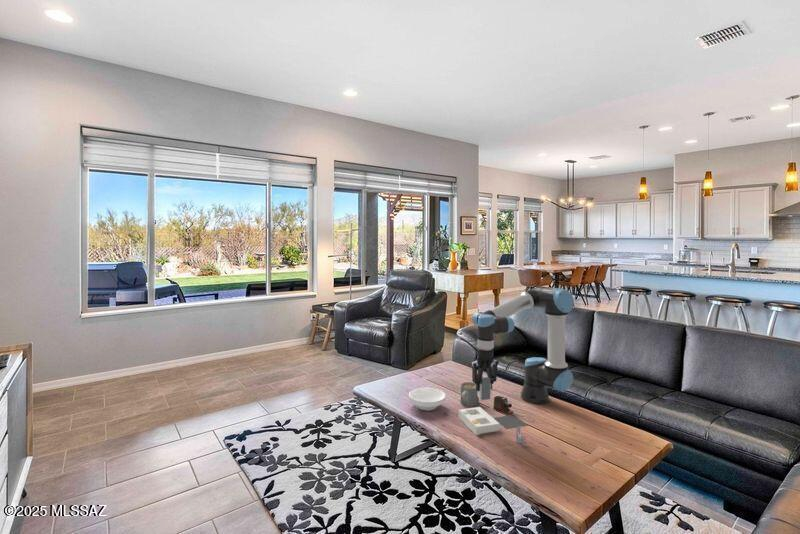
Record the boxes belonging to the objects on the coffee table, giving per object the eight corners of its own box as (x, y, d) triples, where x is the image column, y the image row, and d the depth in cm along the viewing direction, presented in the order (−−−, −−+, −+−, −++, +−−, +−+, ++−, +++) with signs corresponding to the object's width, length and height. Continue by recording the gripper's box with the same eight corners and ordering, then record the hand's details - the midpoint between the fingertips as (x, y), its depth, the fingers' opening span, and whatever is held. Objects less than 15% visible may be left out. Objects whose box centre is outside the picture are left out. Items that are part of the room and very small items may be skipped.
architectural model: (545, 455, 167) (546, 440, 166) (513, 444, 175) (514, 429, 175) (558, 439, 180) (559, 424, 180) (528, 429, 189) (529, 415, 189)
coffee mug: (468, 397, 225) (468, 380, 224) (482, 403, 217) (482, 385, 216) (452, 404, 216) (452, 386, 215) (467, 410, 208) (467, 391, 208)
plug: (485, 395, 189) (486, 374, 189) (489, 399, 186) (490, 377, 185) (478, 396, 188) (478, 374, 187) (482, 400, 184) (482, 377, 184)
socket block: (479, 414, 204) (479, 406, 203) (499, 431, 186) (499, 422, 185) (458, 417, 200) (458, 409, 200) (476, 435, 182) (476, 426, 182)
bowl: (447, 415, 202) (447, 402, 201) (408, 415, 202) (408, 401, 201) (443, 400, 221) (443, 387, 221) (408, 399, 221) (408, 387, 221)
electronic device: (508, 415, 202) (509, 401, 202) (492, 410, 209) (492, 396, 209) (513, 413, 205) (513, 399, 205) (497, 407, 212) (497, 393, 212)
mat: (513, 415, 202) (513, 414, 202) (528, 426, 191) (528, 425, 191) (493, 418, 199) (493, 417, 199) (506, 430, 187) (506, 428, 187)
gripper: (497, 344, 191) (495, 391, 193) (465, 347, 186) (463, 395, 188) (505, 348, 184) (504, 397, 186) (472, 351, 179) (471, 401, 181)
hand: (483, 396), depth 187 cm, fingers closed on plug, 4 cm apart
